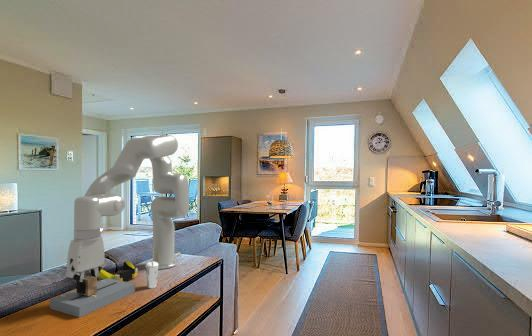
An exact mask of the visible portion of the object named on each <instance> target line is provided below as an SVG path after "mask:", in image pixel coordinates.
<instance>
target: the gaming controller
mask: <svg viewBox="0 0 532 336" xmlns="http://www.w3.org/2000/svg"><path fill="white" fill-rule="evenodd" d="M138 269H139V268H138V267H135V266H134V264H133V263H132V262H131V261H129V260H125V261H123V264H122V270H121V271H119V272H117V273H114V274H112V273H110V272H107V271H106V270H104V268H102V269H101V271H100V272H99V275H98V276H97V280H99V281H101V280H104V279H106V278H110V279H114V280H119V281H124V282H128V281H131V280H134V279H135V278H136V277H137V276H138Z"/></svg>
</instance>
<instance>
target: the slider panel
mask: <svg viewBox="0 0 532 336" xmlns="http://www.w3.org/2000/svg"><path fill="white" fill-rule="evenodd" d="M135 292H136V283H133V282H128V281H125V282H124V281H119V280H114V279H110V278H106V279H104V280H99V281H98V280H97V293H95V294H92V295H90V296H85V295H81V294H77V290H76V289H74V290H71V291H68V292H65V293H63V294H61V295H57V296H55V297H51V298H50V299H49V309H50V310H53V311H57V312H60V313H62V314H63V313H64V314H67V315H69V316H73V317H76V318H79V319H80V318H81V317H84V316H87V315H88V314H90V313H93V312H95V311H97V310H99V309H101V308H104V307H106V306H109V305H110V304H112V303H114V302H116V301H118V300H119V301H120V300H121V299H123V298H126V297H127V296H131V295H132V294H134V293H135Z"/></svg>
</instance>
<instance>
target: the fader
mask: <svg viewBox="0 0 532 336" xmlns="http://www.w3.org/2000/svg"><path fill="white" fill-rule="evenodd" d="M84 281H85V294H81V295H85V296H90V295H92V294H95V293H97V282H98V278H97V277H94V276H90V274H84ZM77 294H80V293H77Z"/></svg>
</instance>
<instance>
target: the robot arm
mask: <svg viewBox="0 0 532 336" xmlns="http://www.w3.org/2000/svg"><path fill="white" fill-rule="evenodd" d="M178 148H179V143H178V140H177V138H176V137H175V136H173V135H171V134H169V135H167V134H164V135H163V134H161V135H146V136H143V137H134V138H130V139H128V140H127V141H126V143H125V144H124V147H123V148H122V150H121V152H120V153H119V155H118V157H117V159H116V160H115V163H114V164H113V166H112V167H111V168H110V169H108V170H106V171H105V172H104V173H102V174H101V175H99V176H98V177H97V178H96V179H95V180H94V181H93V182H92V183H91V184H90V185H89V187H88V189H87V190H86V192H85V193H84V196H79V197H76V198H75V200H74V203H73V239H72V240H70V243H69V247H68V250H67V259H66V273H65V274H64V276H65V277H66V278H71V279H73V280H74V281H75V282H76V285H75V286H76V289H75V290H77V293H80V294H85V281H84V275H85V274H86V273H85V272H86V271H87V272H88V271H89V276H94V277H97V276H98V275H99V272H100V271H101V269H104V267H105V266H106V265H107V262H106V260H105V258H106V257H105V255H106V254H105V244H104V238H103V236H102V235H101V234H102V233H103V232H104V228H102V224H101V223H102V217H114V216H118V215H119V214H122V213H123V211H124V210H125V207H126V201H125V200H124V199H123V197H121V196H120V195H117V194H108V193H109V191H111V190H112V189H113V188H115V187H117V186H118V185H121V184H124V183H127V182H129V181H131V180H132V179H134V178H135V177H136V175H137V173H138V171H139V169H140V167H141V165H142V163H143V161H144V160H147V159H149V160H150V163H151V168H152V185H153V190H154V192H155V193H156V194H162V195H163V194H164V195H174V196H158V197H155V198H154V199H152V201H151V203H150V213H151V219H152V261H151V262H153V261H154V262H157V263H158V264H159V265H158V270H163V269H169V268H173V267H175V266H177V265H178V263H179V262H178V260H177V258H178V257H180V256H182V254H181V252H180V251H178V252H175V232H176V231H175V228H176V227H175V223H174V221H173V219H174V218H175V219H182V218H185V217H186V216H188V214H189V211H190V188H189V180H188V178H187V176H186V175H185V174H183V173H179V172H176V173H175V172H173V167H172V165H173V164H172V160H171V158H170V156H171V155H174V154H175V153H176V152H177V150H178Z"/></svg>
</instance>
